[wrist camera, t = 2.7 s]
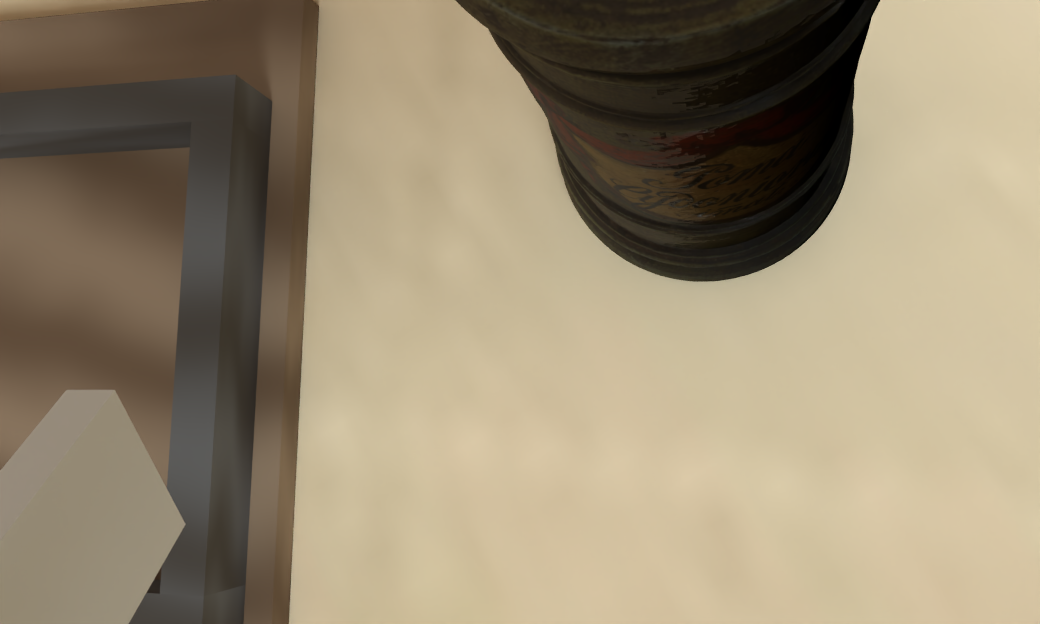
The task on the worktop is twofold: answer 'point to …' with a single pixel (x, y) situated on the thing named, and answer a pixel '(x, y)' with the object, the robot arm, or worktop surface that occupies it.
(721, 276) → the container
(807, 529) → the worktop surface
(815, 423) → the worktop surface
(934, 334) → the worktop surface
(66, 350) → the holder
